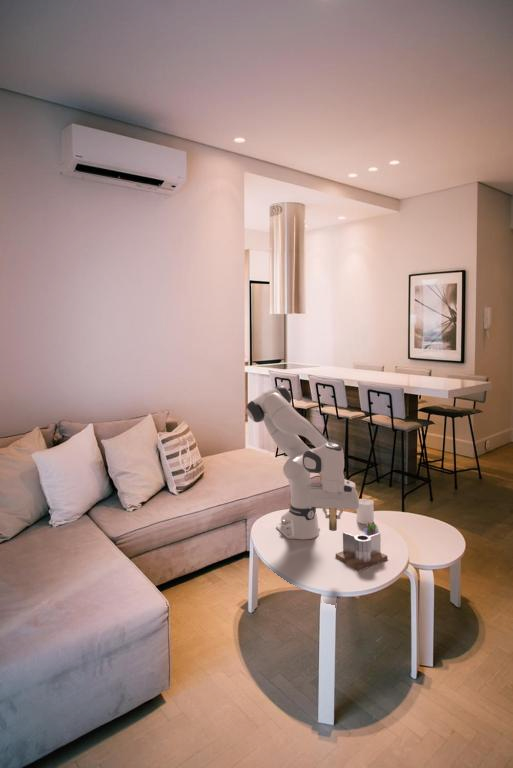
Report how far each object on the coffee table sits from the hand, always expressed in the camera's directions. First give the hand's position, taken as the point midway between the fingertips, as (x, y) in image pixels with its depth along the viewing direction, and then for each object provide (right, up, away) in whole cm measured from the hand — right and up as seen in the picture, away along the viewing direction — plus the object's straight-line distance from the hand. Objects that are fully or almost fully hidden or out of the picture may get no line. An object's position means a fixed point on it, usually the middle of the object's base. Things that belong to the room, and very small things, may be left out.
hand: (332, 518), depth 185 cm
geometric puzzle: (+22, -18, +29) cm, 41 cm away
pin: (0, -5, +1) cm, 5 cm away
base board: (+13, -20, +10) cm, 26 cm away
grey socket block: (+14, -18, +10) cm, 25 cm away
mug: (+24, -16, +50) cm, 57 cm away
